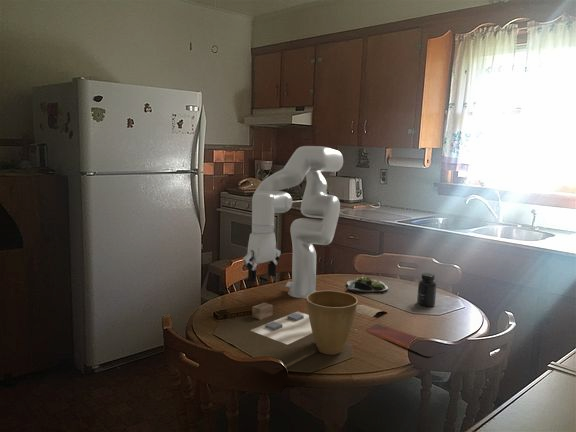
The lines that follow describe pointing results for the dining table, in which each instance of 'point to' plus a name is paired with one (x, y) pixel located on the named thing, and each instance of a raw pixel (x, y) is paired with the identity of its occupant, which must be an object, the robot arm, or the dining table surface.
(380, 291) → the salad plate
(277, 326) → the graphite mark
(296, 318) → the graphite mark
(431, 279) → the supplement bottle
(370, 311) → the clay tablet
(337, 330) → the plant pot
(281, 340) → the white flat rectangle
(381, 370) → the dining table surface
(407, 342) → the wooden tablet
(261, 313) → the sanding block
